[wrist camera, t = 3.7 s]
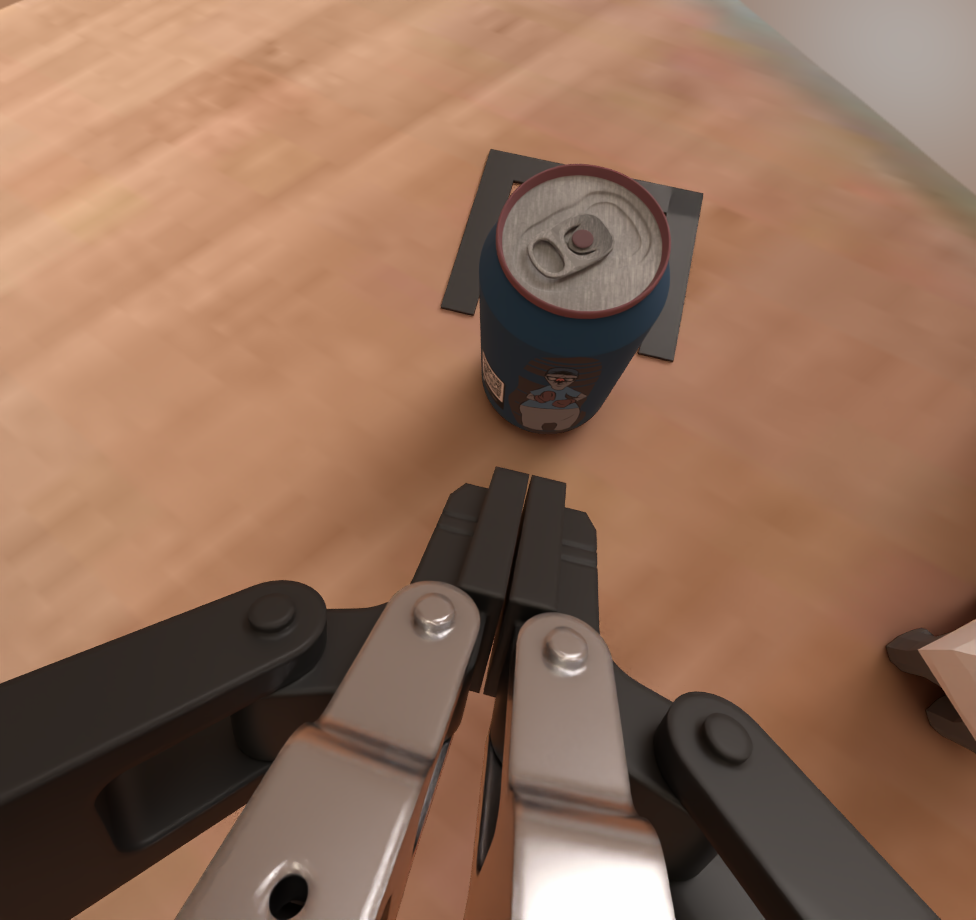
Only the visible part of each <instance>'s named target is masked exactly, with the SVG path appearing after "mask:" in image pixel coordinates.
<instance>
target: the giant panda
mask: <svg viewBox="0 0 976 920" xmlns="http://www.w3.org/2000/svg"><path fill="white" fill-rule="evenodd" d="M886 648H887V651H888V654H889V658H890V660H891V661H892V662H893V663H894V664H895V665H896V666H897V667H898V668H899V669H900V670H901V671H904V672H907V673H911V674H915V675H919V676H923V677H925V678H927V679H929V680H930V681H932V682H933V683H935V684H937V685H938V686H940V687H942V689H943V690H944V692H945V694H946V695H945V696H943V697H941V698H939V699H937V700H936V701H935V702H934V703H933V704H932V705H931V706H930V707H929V708H928V709H927V710H926V712H927V715H928V718H929V722H930V725H931V726H932V727H933V728H934V729H935V730H936V731H937V732H938V733H939V734H940V735H942V736H943V737H945V738H948V739H950V740H952V741H954V742H956V743H958V744H960V745H962V746H964V747H966V748H967V749H969V750H971V751H973V752H974V753H976V619H975V620H973V621H971V622H969V623H967V624H966V625H964V626H962V627H960V628H958V629H957V630H955V631H953V632H950V633H947V634H943V635H940V636H936V637H935V636H933V635H932V634H931V633H930V632H929V631H928V630H927V629H924V628H919V629H915V630H911V631H909V632H907V633H905V634H902V635H900V636H898V637H897V638H896V639H894V640H893V641H892V642H891V643H889V644H888V645H887V646H886Z"/></svg>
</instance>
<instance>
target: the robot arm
mask: <svg viewBox="0 0 976 920" xmlns="http://www.w3.org/2000/svg"><path fill="white" fill-rule="evenodd" d="M528 478H529V474H526V473H522V472H517V471H513V470H509V469H505V468H501V467H497V466H496V467H495V470H494V473H493V476H492V480H491V483H490V486H489V489H488V488H483V487H479V486H475V485H471V484H467V483H465V484H464V485H463V486H461V487H460V488H458V489H457V490H456V491H454V492H453V493H451V494H450V496H449V498H448V500H447V502H446V505H445V507H444V509H443V512H442V514H441V516H440V518H439V521H438V523H437V526H436V528H435V530H434V532H433V534H432V536H431V539H430V541H429V543H428V545H427V548H426V550H425V552H424V554H423V557H422V559H421V561H420V563H419V566H418V568H417V570H416V573H415V575H414V577H413V579H412V581H411V583H410V585H408V586H405V587H403V588H402V589H400V590H399V591H398V592H397V593H395V594H394V595H393V596H392V598H391V599H390V601H389V602H387V603H385V604H381V605H378V606H374V607H369V608H359V609H326V605H325V602H324V600H323V598H322V597H321V595H320V594H319V593H318V592H317V591H316V590H314V589H313V588H311V587H309V586H307V585H305V584H303V583H299V582H295V581H287V580H278V581H269V582H264V583H261V584H257V585H254V586H252V587H249V588H246V589H244V590H241V591H239V592H236V593H234V594H231V595H228V596H226V597H223V598H221V599H218V600H215V601H213V602H210V603H208V604H205V605H202V606H200V607H197V608H195V609H192V610H190V611H187V612H184V613H182V614H179V615H177V616H174V617H171V618H169V619H166V620H164V621H161V622H158V623H156V624H153V625H151V626H148V627H146V628H143V629H140V630H138V631H135V632H133V633H130V634H127V635H125V636H122V637H120V638H117V639H114V640H112V641H109V642H107V643H104V644H102V645H99V646H96V647H94V648H91V649H89V650H86V651H83V652H81V653H78V654H76V655H73V656H70V657H68V658H65V659H63V660H60V661H58V662H55V663H52V664H50V665H47V666H45V667H42V668H39V669H37V670H34V671H32V672H29V673H26V674H24V675H21V676H19V677H16V678H14V679H11V680H8V681H6V682H3V683H1V684H0V920H70V919H71V918H73V917H75V916H76V915H78V914H79V913H81V912H82V911H84V910H85V909H87V908H88V907H90V906H91V905H93V904H94V903H96V902H97V901H99V900H100V899H102V898H104V897H105V896H107V895H108V894H110V893H111V892H113V891H114V890H116V889H117V888H119V887H120V886H122V885H123V884H125V883H126V882H128V881H129V880H131V879H133V878H134V877H136V876H137V875H139V874H140V873H142V872H143V871H145V870H146V869H148V868H149V867H151V866H152V865H154V864H155V863H157V862H158V861H160V860H162V859H163V858H165V857H166V856H168V855H169V854H171V853H172V852H174V851H175V850H177V849H178V848H180V847H181V846H183V845H184V844H186V843H187V842H189V841H191V840H192V839H194V838H195V837H197V836H198V835H200V834H201V833H203V832H204V831H206V830H207V829H209V828H210V827H212V826H213V825H215V824H216V823H218V822H220V821H221V820H223V819H224V818H226V817H227V816H229V815H230V814H232V813H233V812H235V811H236V810H238V809H239V808H241V807H242V806H244V805H245V804H247V805H246V806H245V808H244V809H243V811H242V813H241V814H240V816H239V817H238V819H237V821H236V822H235V824H234V825H233V827H232V829H231V830H230V832H229V833H228V835H227V837H226V838H225V840H224V841H223V843H222V845H221V846H220V848H219V849H218V851H217V853H216V854H215V856H214V857H213V859H212V860H211V862H210V864H209V865H208V867H207V868H206V870H205V872H204V873H203V875H202V876H201V878H200V880H199V881H198V883H197V884H196V886H195V888H194V889H193V891H192V892H191V894H190V896H189V897H188V899H187V900H186V902H185V904H184V905H183V907H182V908H181V910H180V912H179V913H178V915H177V916H176V918H175V920H396V918H397V914H398V911H399V908H400V904H401V901H402V898H403V894H404V891H405V887H406V883H407V880H408V876H409V873H410V870H411V867H412V863H413V860H414V857H415V854H416V851H417V848H418V844H419V841H420V838H421V835H422V832H423V829H424V826H425V823H426V820H427V817H428V814H429V810H430V807H431V804H432V801H433V798H434V795H435V792H436V789H437V786H438V783H439V779H440V776H441V773H442V770H443V767H444V764H445V761H446V758H447V755H448V752H449V748H450V745H451V742H452V739H453V736H454V733H455V731H456V730H457V729H458V727H459V725H460V723H461V720H462V716H463V712H464V708H465V704H466V700H467V696H468V692H469V691H473V692H477V693H479V692H480V688H481V685H482V681H483V677H484V674H485V670H486V666H487V662H488V659H489V655H490V651H491V648H492V644H493V648H492V653H491V658H490V662H489V667H488V672H487V677H486V682H485V687H484V692H483V694H485V695H489V696H492V697H496V698H495V704H494V710H493V715H492V721H491V725H490V728H489V731H488V735H487V738H486V742H485V748H484V757H483V767H482V776H481V785H480V795H479V804H478V814H477V823H476V832H475V842H474V851H473V861H472V870H471V878H470V886H469V892H468V898H467V903H466V908H465V913H464V918H463V920H941V919H940V918H939V917H938V916H937V915H936V914H935V913H934V912H933V911H932V909H931V908H930V907H929V906H928V905H927V904H926V903H925V902H924V901H923V900H922V899H921V898H920V897H919V896H918V895H917V893H916V892H915V891H914V890H913V889H912V888H911V887H910V886H909V885H908V884H907V883H906V882H905V881H904V880H903V878H902V877H901V876H900V875H899V874H898V873H897V872H896V871H895V870H894V869H893V868H892V867H891V866H890V865H889V864H888V862H887V861H886V860H885V859H884V858H883V857H882V856H881V855H880V854H879V853H878V852H877V851H876V850H875V849H874V848H873V846H872V845H871V844H870V843H869V842H868V841H867V840H866V839H865V838H864V837H863V836H862V835H861V834H860V833H859V832H858V830H857V829H856V828H855V827H854V826H853V825H852V824H851V823H850V822H849V821H848V820H847V819H846V818H845V817H844V816H843V814H842V813H841V812H840V811H839V810H838V809H837V808H836V807H835V806H834V805H833V804H832V803H831V802H830V801H829V800H828V798H827V797H826V796H825V795H824V794H823V793H822V792H821V791H820V790H819V789H818V788H817V787H816V786H815V785H814V783H813V782H812V781H811V780H810V779H809V778H808V777H807V776H806V775H805V774H804V773H803V772H802V771H801V770H800V769H799V767H798V766H797V765H796V764H795V763H794V762H793V761H792V760H791V759H790V758H789V757H788V756H787V755H786V754H785V753H784V751H783V750H782V749H781V748H780V747H779V746H778V745H777V744H776V743H775V742H774V741H773V740H772V739H771V738H770V737H769V735H768V734H767V733H766V732H765V731H764V730H763V729H762V728H761V727H760V726H759V725H758V724H757V723H756V722H755V721H754V720H753V719H752V718H751V717H750V716H749V715H748V714H747V713H746V712H744V711H743V710H742V709H741V708H739V707H738V706H736V705H735V704H733V703H732V702H730V701H728V700H726V699H724V698H722V697H720V696H717V695H714V694H711V693H706V692H688V693H686V694H683V695H681V696H679V697H678V698H677V699H676V700H675V701H674V702H672V701H670V700H668V699H666V698H665V697H663V696H661V695H659V694H658V693H656V692H654V691H652V690H651V689H649V688H647V687H645V686H644V685H642V684H640V683H638V682H637V681H635V680H634V679H632V678H631V677H630V676H628V675H627V674H626V673H625V672H623V671H622V670H621V669H620V668H619V667H618V666H617V665H616V664H615V662H614V661H613V660H612V657H611V653H610V651H609V648H608V646H607V644H606V643H605V641H604V640H603V638H602V637H601V636H600V631H599V606H598V572H597V553H596V550H597V537H596V529H595V527H594V526H593V524H592V522H591V521H590V519H589V517H588V515H587V514H586V512H582V511H578V510H574V509H570V508H566V507H565V495H566V483H563V482H559V481H555V480H551V479H547V478H543V477H539V476H535V475H532V477H531V480H530V484H529V488H528V491H527V495H526V499H525V494H526V489H527V484H528ZM524 499H525V503H524ZM523 504H524V507H523ZM522 509H523V511H522ZM494 636H495V638H494ZM493 640H494V643H493Z"/></svg>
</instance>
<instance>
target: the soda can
mask: <svg viewBox="0 0 976 920" xmlns="http://www.w3.org/2000/svg"><path fill="white" fill-rule="evenodd" d="M670 252H671V235H670V229H669V225H668V222H667V219H666V216H665V214H664V212H663V210H662V209H661V207H660V205H659V204H658V202H657V201H656V200H655V198H654V197H653V196H652V195H651V194H650V193H649V192H648V191H647V190H646V189H645V188H644V187H643V186H641V185H640V184H639V183H637V182H636V181H634V180H633V179H631V178H630V177H628V176H626V175H624V174H622V173H619V172H617V171H614V170H611V169H608V168H604V167H600V166H595V165H587V164H568V165H561V166H557V167H553V168H550V169H547V170H545V171H543V172H540V173H538V174H536V175H535V176H533V177H531V178H530V179H528V180H527V181H525V182H524V183H523V184H521V185H520V186H519V187H518V188H517V189H516V190H515V191H514V192H513V193H512V194H511V196H510V197H509V198H508V200H507V201H506V203H505V205H504V207H503V209H502V211H501V213H500V216H499V219H498V220H497V222H496V223H495V224H494V226H493V227H492V229H491V230H490V232H489V234H488V236H487V238H486V240H485V242H484V245H483V248H482V251H481V255H480V261H479V293H480V330H481V366H482V382H483V386H484V390H485V393H486V395H487V397H488V399H489V401H490V403H491V404H492V406H493V407H494V408H495V410H496V411H497V412H498V413H499V414H500V415H501V416H502V417H503V418H504V419H506V420H507V421H508V422H510V423H511V424H513V425H515V426H517V427H519V428H521V429H523V430H526V431H530V432H534V433H540V434H555V433H561V432H566V431H569V430H572V429H574V428H577V427H579V426H580V425H582V424H584V423H585V422H587V421H588V420H589V419H590V418H592V417H593V416H594V415H595V414H596V413H597V411H598V410H599V409H600V407H601V406H602V405H603V403H604V401H605V400H606V398H607V397H608V395H609V394H610V392H611V390H612V389H613V387H614V386H615V384H616V383H617V381H618V379H619V378H620V376H621V375H622V373H623V372H624V370H625V368H626V367H627V365H628V364H629V362H630V361H631V359H632V357H633V356H634V354H635V353H636V351H637V350H638V348H639V346H640V345H641V343H642V342H643V340H644V339H645V337H646V335H647V334H648V332H649V331H650V329H651V328H652V326H653V324H654V323H655V321H656V320H657V318H658V317H659V315H660V313H661V311H662V309H663V307H664V305H665V302H666V300H667V296H668V292H669V287H670V265H669V257H670Z"/></svg>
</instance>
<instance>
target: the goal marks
mask: <svg viewBox="0 0 976 920" xmlns="http://www.w3.org/2000/svg"><path fill="white" fill-rule="evenodd" d="M561 165H565V164H560V163H555V162H551V161H546V160H541V159H536V158H531V157H527V156H522V155H517V154H512V153H508V152H503V151H498V150H493V149H491V150H490V153H489V156H488V159H487V162H486V165H485V169H484V172H483V175H482V178H481V181H480V184H479V188H478V191H477V194H476V197H475V200H474V203H473V206H472V210H471V213H470V216H469V219H468V222H467V225H466V229H465V232H464V235H463V238H462V241H461V244H460V248H459V251H458V254H457V257H456V260H455V263H454V266H453V270H452V273H451V276H450V279H449V282H448V285H447V289H446V292H445V295H444V298H443V301H442V304H441V308H443V309H448V310H452V311H456V312H461V313H465V314H469V315H474V313H475V309H476V306H477V303H478V299H479V296H480V293H479V261H480V255H481V251H482V248H483V245H484V242H485V240H486V238H487V236H488V234H489V232H490V230H491V229H492V227H493V226H494V224H495V223H496V222H497V220H498V219H499V216H500V213H501V211H502V209H503V207H504V205H505V203H506V201H507V200H508V198H509V195H510V191H511V188H512V185H513V182H516V183H521V184H523V183H524V182H525V181H527V180H528V179H530V178H531V177H533V176H535V175H536V174H538V173H540V172H543V171H545V170H547V169H550V168H553V167H557V166H561ZM631 179H632V178H631ZM633 180H634V181H636V182H637V183H639V184H640V185H641V186H643V187H644V188H645V189H646V190H647V191H648V192H649V193H650V194H651V195H652V196H653V197H654V198H655V200H656V201H657V202H658V204H659V205H660V207H661V209H662V210H663V212H664V214H666V219H667V222H668V225H669V229H670V235H671V252H670V257H669V265H670V287H669V292H668V296H667V300H666V302H665V305H664V307H663V309H662V311H661V313H660V315H659V317H658V318H657V320H656V321H655V323H654V324H653V326H652V328H651V329H650V331H649V332H648V334H647V335H646V337H645V339H644V340H643V342H642V343H641V345H640V348H639V353H638V354H642V355H646V356H650V357H655V358H659V359H663V360H668V361H672V362H673V361H674V355H675V350H676V344H677V339H678V333H679V327H680V322H681V316H682V311H683V305H684V299H685V294H686V288H687V283H688V277H689V271H690V266H691V260H692V255H693V249H694V243H695V238H696V232H697V227H698V221H699V215H700V210H701V204H702V199H703V193H698V192H694V191H689V190H684V189H679V188H675V187H670V186H665V185H660V184H656V183H651V182H646V181H641V180H636V179H633Z"/></svg>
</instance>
